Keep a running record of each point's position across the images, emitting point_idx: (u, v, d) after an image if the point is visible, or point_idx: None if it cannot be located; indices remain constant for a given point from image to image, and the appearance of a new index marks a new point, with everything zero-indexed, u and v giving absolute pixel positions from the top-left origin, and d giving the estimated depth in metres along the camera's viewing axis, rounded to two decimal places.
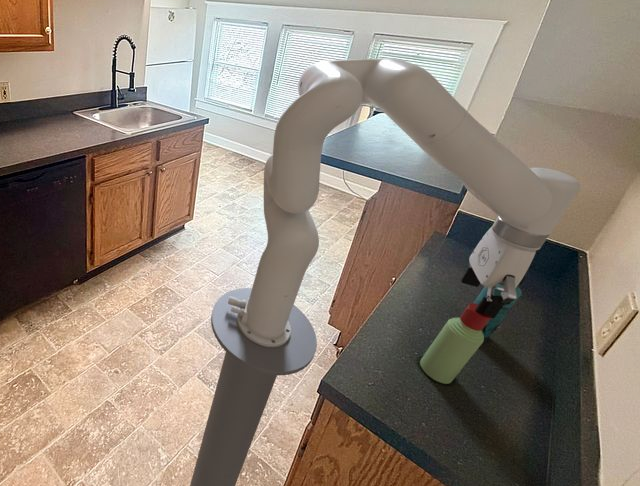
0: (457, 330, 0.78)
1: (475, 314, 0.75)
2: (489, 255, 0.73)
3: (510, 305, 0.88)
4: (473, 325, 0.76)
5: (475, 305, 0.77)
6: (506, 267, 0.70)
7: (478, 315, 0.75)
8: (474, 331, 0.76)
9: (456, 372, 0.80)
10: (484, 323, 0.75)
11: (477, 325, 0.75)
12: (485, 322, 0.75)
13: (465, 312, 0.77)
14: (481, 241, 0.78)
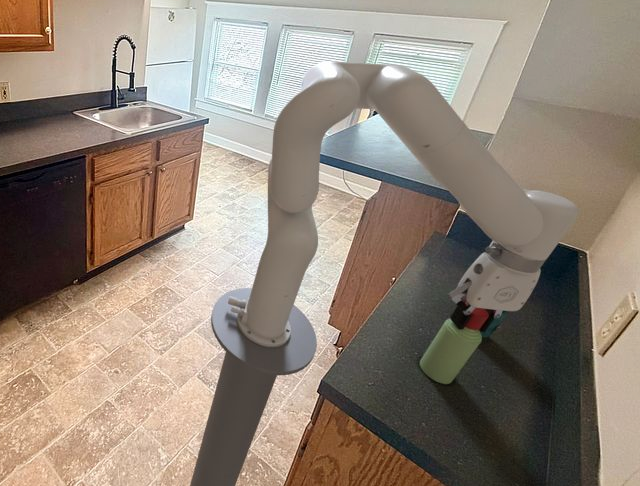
0: (455, 330, 0.78)
1: (474, 316, 0.75)
2: (518, 289, 0.70)
3: None
4: (472, 326, 0.76)
5: None
6: None
7: (478, 316, 0.75)
8: (471, 331, 0.77)
9: (455, 372, 0.80)
10: (483, 322, 0.75)
11: (477, 325, 0.75)
12: (484, 321, 0.75)
13: None
14: (489, 286, 0.70)
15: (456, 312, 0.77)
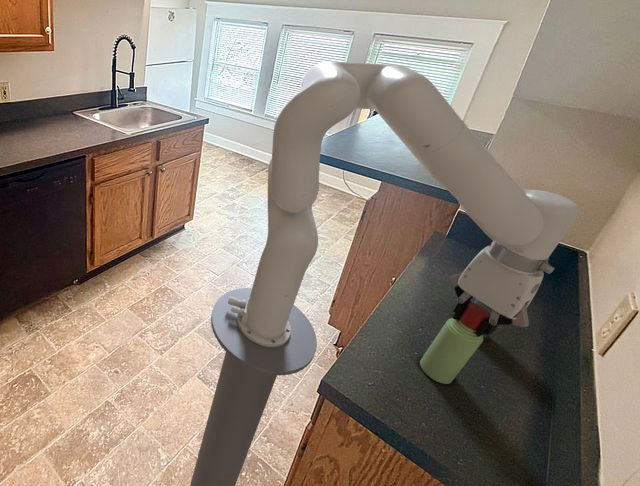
0: (456, 330, 0.78)
1: None
2: None
3: None
4: None
5: (478, 312, 0.75)
6: None
7: None
8: (473, 331, 0.76)
9: (456, 372, 0.80)
10: None
11: None
12: None
13: None
14: None
15: (492, 328, 0.74)
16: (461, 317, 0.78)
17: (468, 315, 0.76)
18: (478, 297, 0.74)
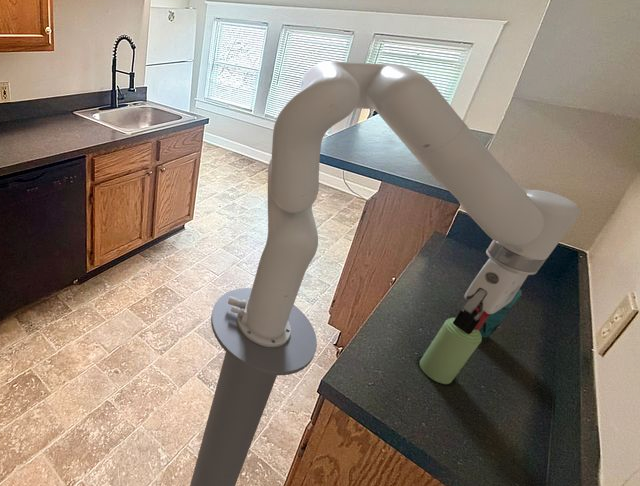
0: (455, 330, 0.78)
1: None
2: (520, 285, 0.71)
3: (510, 305, 0.88)
4: None
5: None
6: None
7: None
8: None
9: (455, 372, 0.80)
10: None
11: None
12: None
13: None
14: (506, 293, 0.68)
15: (463, 318, 0.75)
16: None
17: None
18: None
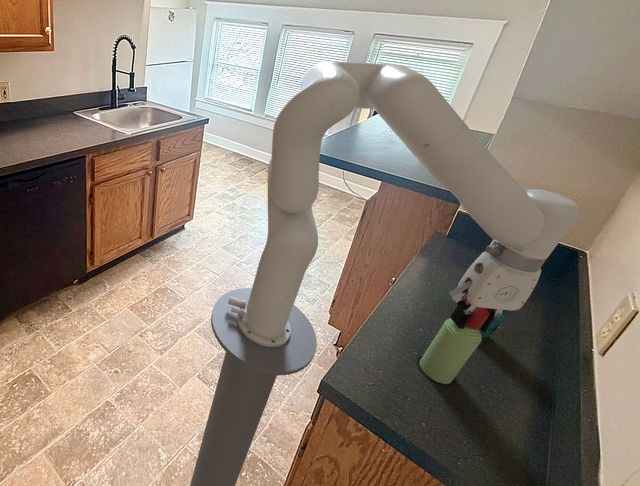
0: (455, 330, 0.78)
1: None
2: (518, 288, 0.70)
3: None
4: None
5: (485, 311, 0.76)
6: None
7: (467, 302, 0.77)
8: (471, 331, 0.76)
9: (455, 372, 0.80)
10: None
11: None
12: None
13: None
14: (490, 285, 0.70)
15: (456, 311, 0.77)
16: (478, 327, 0.76)
17: None
18: None
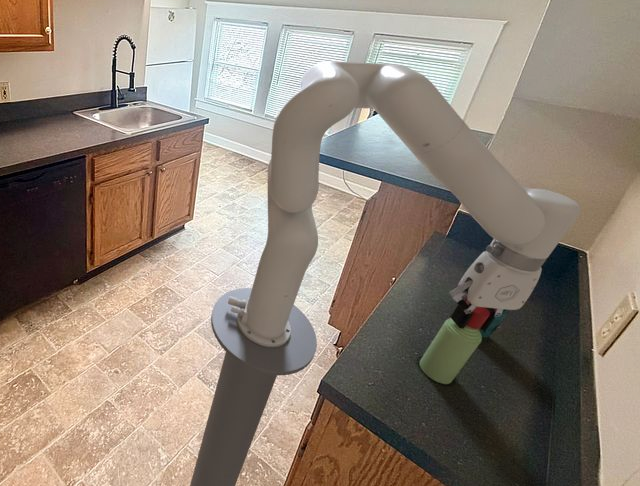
0: (455, 330, 0.78)
1: (474, 313, 0.75)
2: (519, 288, 0.69)
3: None
4: (472, 324, 0.76)
5: None
6: None
7: (477, 314, 0.75)
8: (471, 331, 0.76)
9: (455, 372, 0.80)
10: (483, 321, 0.75)
11: (476, 324, 0.75)
12: (484, 320, 0.75)
13: None
14: (490, 285, 0.70)
15: (457, 311, 0.77)
16: None
17: None
18: None
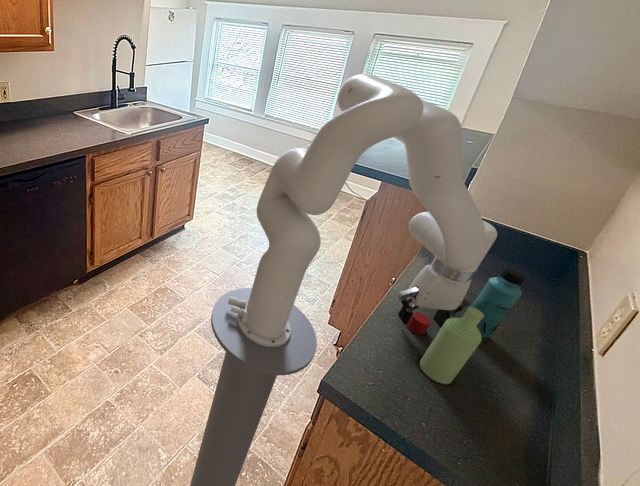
0: (455, 330, 0.78)
1: None
2: None
3: (510, 305, 0.88)
4: None
5: (425, 322, 0.93)
6: (417, 279, 0.90)
7: None
8: (471, 331, 0.76)
9: (455, 372, 0.80)
10: None
11: None
12: None
13: None
14: None
15: None
16: (413, 330, 0.94)
17: (419, 327, 0.93)
18: (434, 307, 0.89)
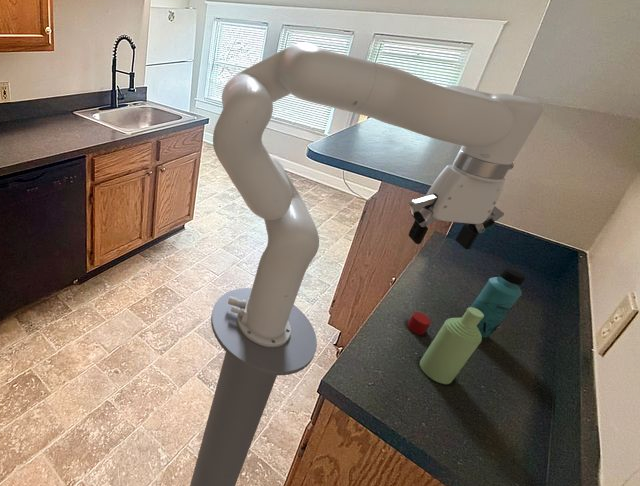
0: (455, 330, 0.78)
1: None
2: None
3: (510, 305, 0.88)
4: None
5: (425, 322, 0.93)
6: (435, 185, 0.71)
7: None
8: (471, 331, 0.76)
9: (455, 372, 0.80)
10: None
11: None
12: None
13: None
14: None
15: None
16: (413, 330, 0.94)
17: (419, 327, 0.93)
18: (457, 219, 0.71)
